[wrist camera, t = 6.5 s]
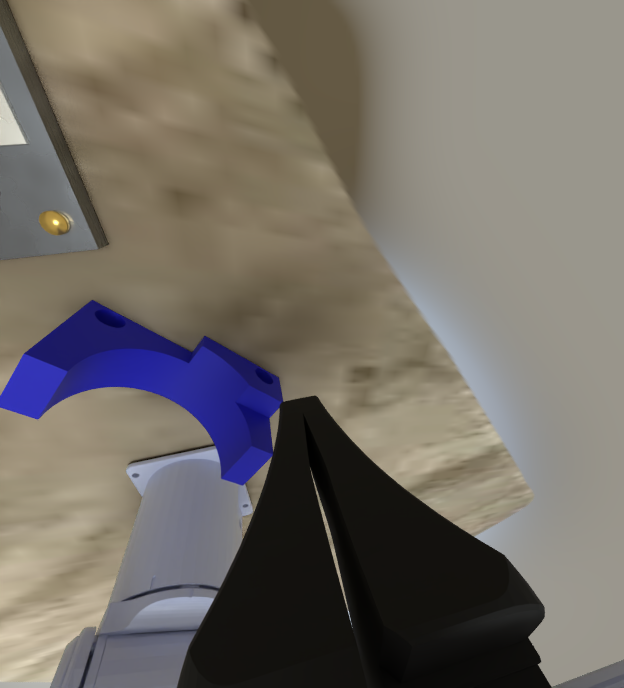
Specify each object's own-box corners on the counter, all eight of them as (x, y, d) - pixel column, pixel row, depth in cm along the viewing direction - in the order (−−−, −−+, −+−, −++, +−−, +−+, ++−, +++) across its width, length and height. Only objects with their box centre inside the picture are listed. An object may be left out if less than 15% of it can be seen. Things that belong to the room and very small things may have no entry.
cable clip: (278, 376, 21) (289, 438, 16) (242, 416, 22) (242, 485, 17) (105, 278, 16) (40, 325, 11) (70, 337, 17) (-5, 405, 12)
